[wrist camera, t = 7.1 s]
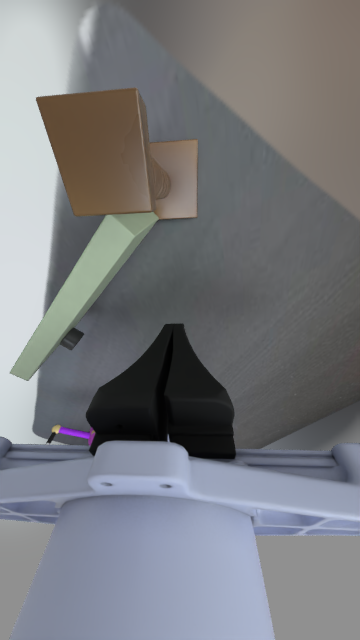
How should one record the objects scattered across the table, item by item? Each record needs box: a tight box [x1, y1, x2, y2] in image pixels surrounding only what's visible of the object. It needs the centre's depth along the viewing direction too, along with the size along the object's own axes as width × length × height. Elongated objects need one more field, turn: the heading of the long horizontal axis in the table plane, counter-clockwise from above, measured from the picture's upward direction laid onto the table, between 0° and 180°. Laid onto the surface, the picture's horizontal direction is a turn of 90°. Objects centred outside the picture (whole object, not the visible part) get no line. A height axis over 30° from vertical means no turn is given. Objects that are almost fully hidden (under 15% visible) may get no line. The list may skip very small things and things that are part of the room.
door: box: [10, 212, 159, 381], centre depth 12 cm, size 13×2×7 cm, turn 136°
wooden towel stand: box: [36, 88, 198, 220], centre depth 8 cm, size 4×5×10 cm
